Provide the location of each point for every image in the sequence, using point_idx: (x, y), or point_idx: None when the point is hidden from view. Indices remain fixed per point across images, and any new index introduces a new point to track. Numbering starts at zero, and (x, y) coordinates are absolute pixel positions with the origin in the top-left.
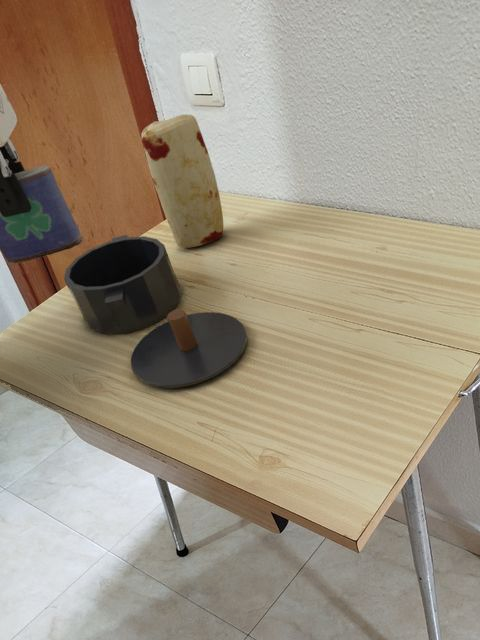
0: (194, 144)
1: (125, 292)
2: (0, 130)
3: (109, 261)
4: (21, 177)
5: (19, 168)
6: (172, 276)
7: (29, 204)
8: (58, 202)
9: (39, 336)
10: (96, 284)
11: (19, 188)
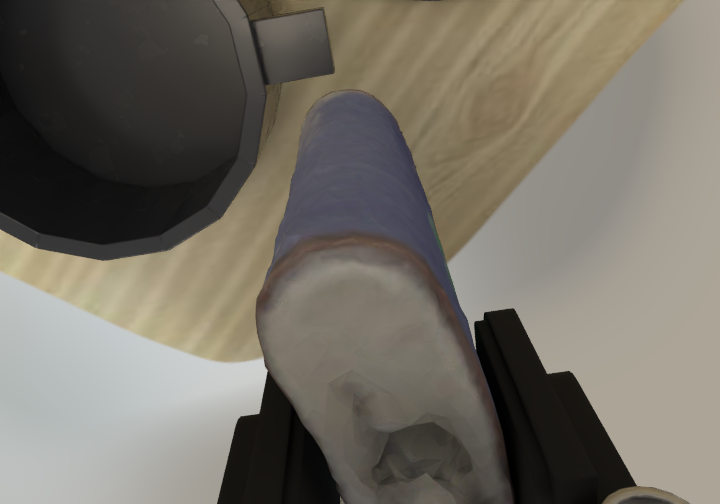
0: None
1: (253, 17)
2: None
3: None
4: (480, 428)
5: (298, 496)
6: None
7: (504, 322)
8: (398, 171)
9: (245, 295)
10: (69, 185)
11: (555, 401)
